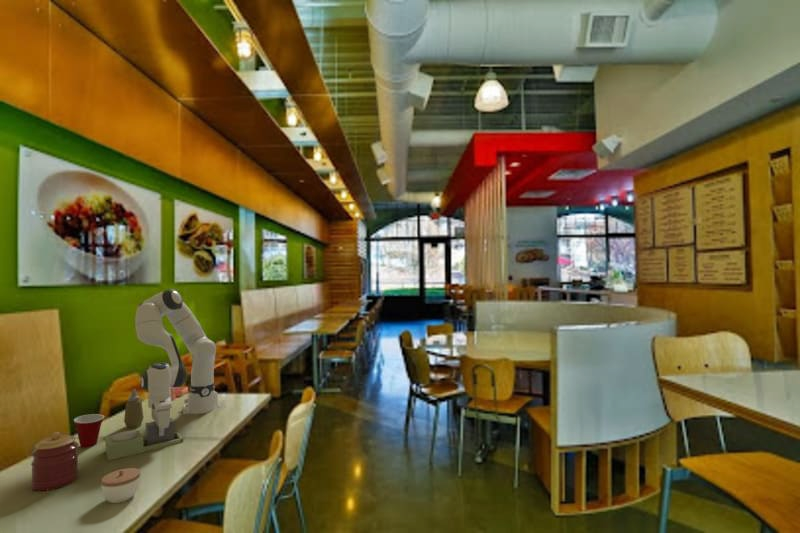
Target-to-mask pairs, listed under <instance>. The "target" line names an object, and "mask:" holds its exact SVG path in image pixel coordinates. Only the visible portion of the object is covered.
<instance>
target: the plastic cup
mask: <svg viewBox="0 0 800 533" xmlns="http://www.w3.org/2000/svg"><path fill="white" fill-rule="evenodd" d="M104 418H105V415H103V414H100V413H99V414H98V413H95V414H94V413H91V414H84V415H79V416H77V417H75V418H74V419H73V422H74V425H75V426H76V427H75V428H76V433H77V438H78V441H79V446H80V448H84V449H85V448H92V447H93V446H95V445H97V443H98V441H99V440H98V439H99V435H100V431H101V427H102V422H103V420H104Z"/></svg>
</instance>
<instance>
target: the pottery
mask: <svg viewBox="0 0 800 533" xmlns="http://www.w3.org/2000/svg"><path fill="white" fill-rule="evenodd" d="M188 388H189V387H188V386H181V387H173V388H172V387H171V388H170V389H171V402H173V401H175V400H176V398H178V397H179V398H181V397H183V396H185V395H186V394H188V392H189V389H188Z"/></svg>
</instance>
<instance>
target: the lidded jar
mask: <svg viewBox="0 0 800 533" xmlns="http://www.w3.org/2000/svg"><path fill="white" fill-rule="evenodd" d="M140 482H141V470H140V469H139V468H134V467H129V468H122V469H117V470H114V471H111V472H110V473H107V474H106V475H104V476H103V477H102V478H101V481H100V483H101V493H102V496H103V498H104V499H105V500H106V501H107V502H109V503H111V504H119V503H120V502H121V503H124V502H127V501H128V500H130V499H132V498H133V496H134V495H135V494H136V493H137V491H138V489H139V487H140ZM126 500H127V501H126ZM123 501H124V502H123Z"/></svg>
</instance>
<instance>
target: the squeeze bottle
mask: <svg viewBox="0 0 800 533" xmlns="http://www.w3.org/2000/svg"><path fill="white" fill-rule="evenodd" d="M127 400H128V401H127V402H126V403H125V410H124V418H123V421H124V422H123V423H124V424H125V426H126V428H127V429H135V428H138V427H141V426H142V423H143V420H144V418H145V417H144V412H143V411H144V410H143V401H142V400H140V395H138V394H137V391H136V388H134V389H132V390H131V394H130V396H128V398H127Z"/></svg>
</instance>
